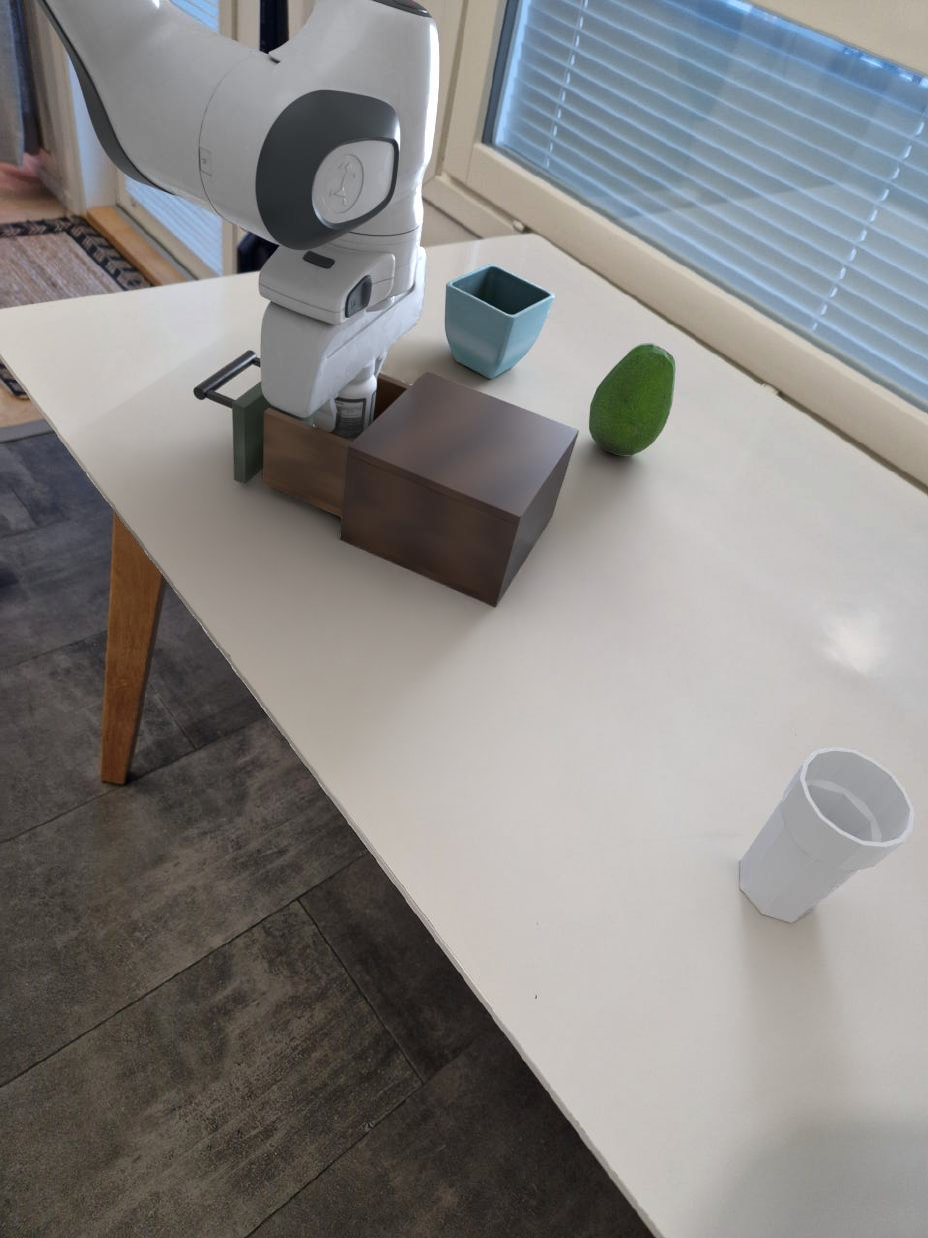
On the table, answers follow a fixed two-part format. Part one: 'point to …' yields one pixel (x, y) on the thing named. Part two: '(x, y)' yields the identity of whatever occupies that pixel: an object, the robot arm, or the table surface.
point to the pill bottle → (357, 403)
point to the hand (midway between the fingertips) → (345, 410)
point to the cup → (825, 832)
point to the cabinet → (455, 485)
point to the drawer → (288, 439)
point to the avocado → (633, 401)
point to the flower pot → (493, 318)
